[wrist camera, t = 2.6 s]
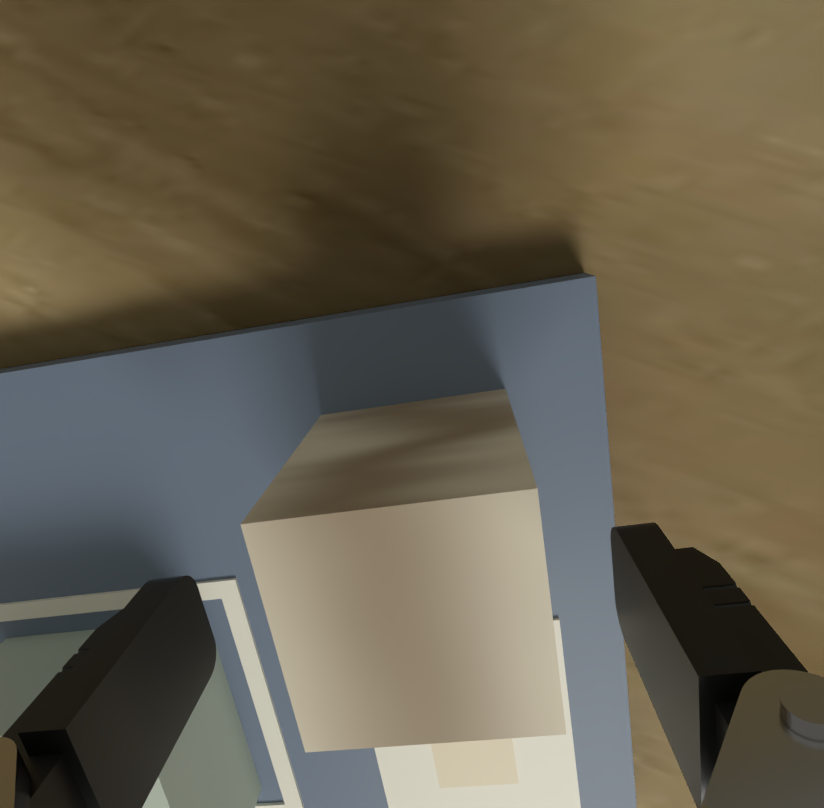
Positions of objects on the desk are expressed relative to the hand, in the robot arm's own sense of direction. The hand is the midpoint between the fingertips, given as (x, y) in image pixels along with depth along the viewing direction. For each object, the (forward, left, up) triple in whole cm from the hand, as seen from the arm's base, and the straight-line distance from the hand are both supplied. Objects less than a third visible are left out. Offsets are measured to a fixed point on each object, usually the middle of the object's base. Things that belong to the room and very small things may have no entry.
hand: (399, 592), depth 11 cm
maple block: (0, 0, -5) cm, 5 cm away
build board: (+6, +4, -6) cm, 10 cm away
